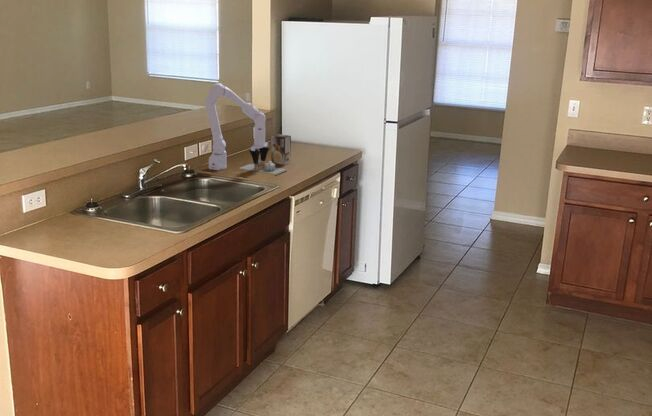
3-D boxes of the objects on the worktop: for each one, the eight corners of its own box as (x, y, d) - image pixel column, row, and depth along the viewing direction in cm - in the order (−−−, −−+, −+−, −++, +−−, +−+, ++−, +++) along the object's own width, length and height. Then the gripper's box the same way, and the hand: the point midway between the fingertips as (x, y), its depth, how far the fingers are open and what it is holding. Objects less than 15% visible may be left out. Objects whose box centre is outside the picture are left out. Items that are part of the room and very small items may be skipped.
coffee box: (291, 164, 366) (291, 135, 362) (285, 167, 361) (285, 137, 356) (276, 162, 370) (277, 133, 366) (270, 164, 365) (270, 135, 360)
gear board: (275, 176, 341) (276, 165, 339) (238, 170, 349) (238, 159, 347) (286, 171, 351) (287, 161, 349) (250, 166, 360) (250, 155, 358)
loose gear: (261, 169, 347) (261, 164, 346) (252, 168, 349) (252, 162, 348) (266, 167, 352) (266, 162, 351) (257, 166, 354) (257, 160, 353)
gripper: (259, 139, 338) (259, 165, 342) (273, 135, 350) (273, 160, 354) (247, 137, 340) (247, 164, 344) (261, 133, 353) (261, 158, 357)
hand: (259, 162), depth 350 cm, fingers open, 7 cm apart
